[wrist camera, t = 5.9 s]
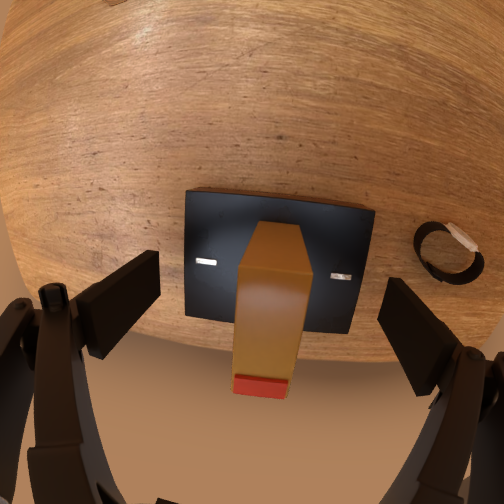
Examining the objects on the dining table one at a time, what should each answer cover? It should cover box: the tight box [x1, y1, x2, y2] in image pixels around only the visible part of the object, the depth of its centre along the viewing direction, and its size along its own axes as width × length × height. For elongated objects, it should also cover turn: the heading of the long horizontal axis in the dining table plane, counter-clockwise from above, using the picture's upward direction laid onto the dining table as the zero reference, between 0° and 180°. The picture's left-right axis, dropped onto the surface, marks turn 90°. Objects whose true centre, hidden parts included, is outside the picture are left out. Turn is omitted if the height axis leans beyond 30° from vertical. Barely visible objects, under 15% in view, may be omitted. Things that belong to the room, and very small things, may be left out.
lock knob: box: [231, 221, 313, 399], centre depth 13 cm, size 6×2×8 cm, turn 177°
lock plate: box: [184, 187, 375, 334], centre depth 19 cm, size 12×9×3 cm
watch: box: [414, 221, 484, 285], centre depth 17 cm, size 8×5×4 cm, turn 71°
